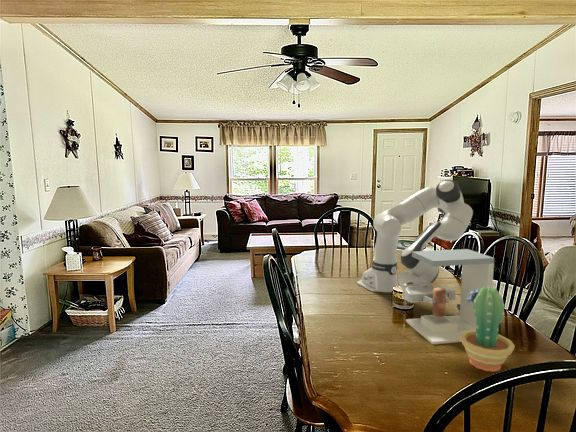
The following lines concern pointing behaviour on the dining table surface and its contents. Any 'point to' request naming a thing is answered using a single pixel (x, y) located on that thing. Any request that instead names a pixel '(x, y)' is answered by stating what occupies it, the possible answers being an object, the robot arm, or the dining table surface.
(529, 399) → the dining table surface
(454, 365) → the dining table surface
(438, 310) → the peg
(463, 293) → the awning socket
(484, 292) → the potted cactus
